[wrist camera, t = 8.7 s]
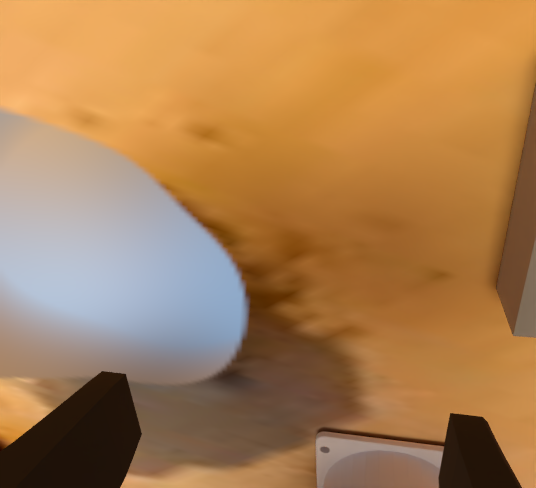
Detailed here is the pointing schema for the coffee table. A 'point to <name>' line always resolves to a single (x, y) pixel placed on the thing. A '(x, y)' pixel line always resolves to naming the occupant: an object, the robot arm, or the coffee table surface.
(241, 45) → the coffee table surface
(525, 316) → the gray block
